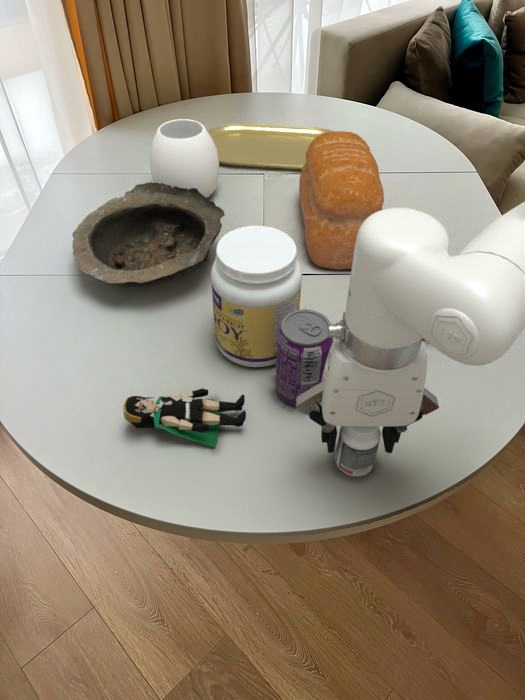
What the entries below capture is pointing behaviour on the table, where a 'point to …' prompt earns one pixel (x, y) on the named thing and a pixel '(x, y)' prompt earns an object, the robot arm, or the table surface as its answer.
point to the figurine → (184, 415)
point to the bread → (337, 196)
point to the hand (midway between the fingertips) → (358, 442)
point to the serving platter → (263, 145)
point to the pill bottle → (357, 449)
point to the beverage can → (301, 353)
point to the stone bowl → (147, 235)
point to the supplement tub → (253, 292)
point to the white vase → (185, 156)
